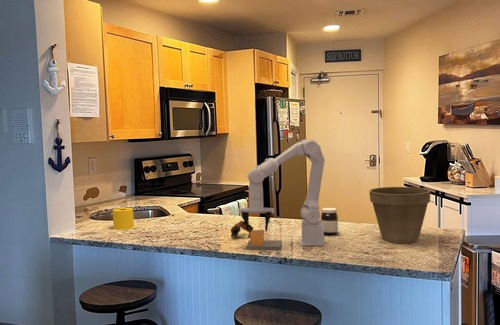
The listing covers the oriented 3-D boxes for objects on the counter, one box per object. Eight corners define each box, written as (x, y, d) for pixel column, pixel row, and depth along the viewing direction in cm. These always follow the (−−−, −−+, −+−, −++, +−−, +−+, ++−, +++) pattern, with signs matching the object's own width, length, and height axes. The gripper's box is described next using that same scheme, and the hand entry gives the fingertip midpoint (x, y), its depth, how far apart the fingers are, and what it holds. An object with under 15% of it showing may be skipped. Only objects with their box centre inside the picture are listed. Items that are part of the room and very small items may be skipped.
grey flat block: (282, 243, 194) (281, 232, 194) (280, 250, 184) (280, 238, 184) (249, 243, 196) (249, 232, 196) (246, 249, 186) (246, 237, 186)
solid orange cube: (264, 241, 193) (263, 230, 192) (262, 244, 188) (262, 232, 187) (252, 241, 193) (251, 229, 193) (250, 244, 188) (250, 232, 188)
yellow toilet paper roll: (136, 225, 239) (135, 207, 238) (129, 229, 229) (128, 211, 228) (118, 225, 240) (117, 207, 239) (110, 229, 230) (109, 211, 229)
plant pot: (358, 236, 204) (357, 188, 202) (403, 230, 213) (403, 184, 211) (394, 249, 181) (394, 195, 179) (443, 243, 189) (443, 191, 188)
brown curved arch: (235, 234, 216) (244, 219, 215) (250, 245, 211) (259, 230, 210) (221, 233, 205) (230, 217, 205) (236, 245, 201) (245, 229, 200)
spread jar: (337, 236, 205) (337, 211, 204) (312, 236, 207) (312, 210, 206) (338, 230, 216) (337, 206, 215) (314, 230, 219) (313, 206, 218)
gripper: (274, 196, 192) (275, 228, 193) (240, 196, 194) (241, 228, 195) (273, 199, 185) (274, 232, 186) (237, 199, 187) (238, 232, 188)
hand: (257, 230), depth 190 cm, fingers open, 7 cm apart
